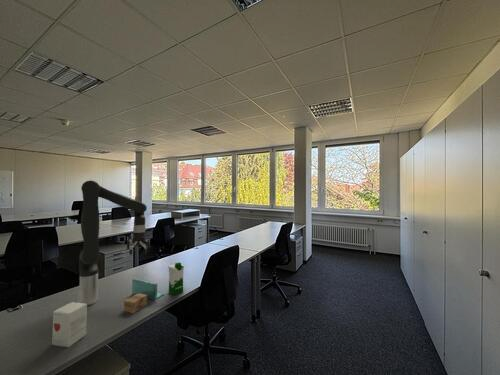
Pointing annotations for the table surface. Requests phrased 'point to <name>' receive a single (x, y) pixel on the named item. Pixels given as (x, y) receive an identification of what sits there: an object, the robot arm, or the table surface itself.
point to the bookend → (145, 289)
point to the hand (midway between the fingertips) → (138, 254)
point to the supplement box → (69, 324)
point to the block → (135, 303)
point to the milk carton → (176, 278)
